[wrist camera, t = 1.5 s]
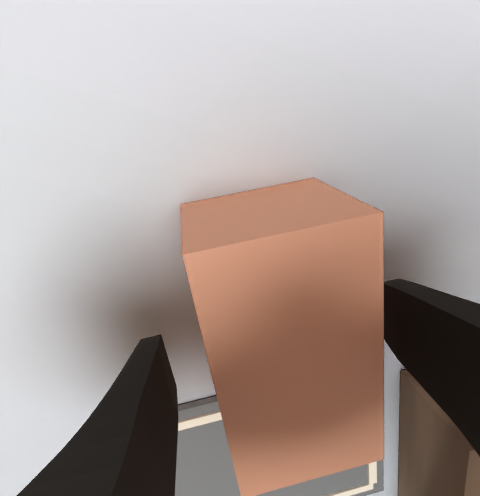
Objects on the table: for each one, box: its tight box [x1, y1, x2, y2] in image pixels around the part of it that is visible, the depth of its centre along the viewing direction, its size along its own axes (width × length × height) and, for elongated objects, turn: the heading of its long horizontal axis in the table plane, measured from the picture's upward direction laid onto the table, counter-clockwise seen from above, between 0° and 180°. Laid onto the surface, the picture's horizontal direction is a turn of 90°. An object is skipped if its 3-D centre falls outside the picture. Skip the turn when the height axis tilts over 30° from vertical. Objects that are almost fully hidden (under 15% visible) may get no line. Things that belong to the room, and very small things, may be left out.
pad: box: [175, 396, 384, 496], centre depth 16 cm, size 11×8×1 cm
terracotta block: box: [180, 178, 384, 496], centre depth 11 cm, size 4×8×4 cm, turn 9°
